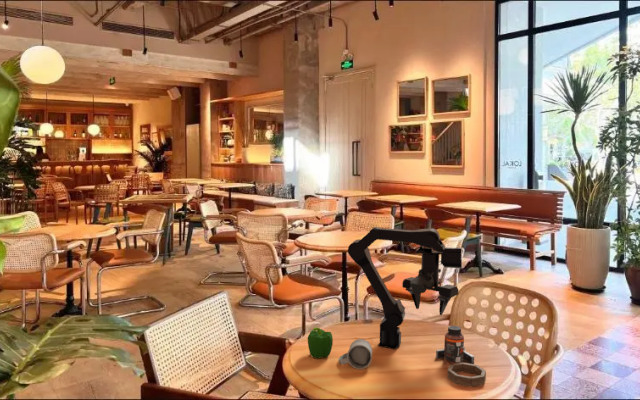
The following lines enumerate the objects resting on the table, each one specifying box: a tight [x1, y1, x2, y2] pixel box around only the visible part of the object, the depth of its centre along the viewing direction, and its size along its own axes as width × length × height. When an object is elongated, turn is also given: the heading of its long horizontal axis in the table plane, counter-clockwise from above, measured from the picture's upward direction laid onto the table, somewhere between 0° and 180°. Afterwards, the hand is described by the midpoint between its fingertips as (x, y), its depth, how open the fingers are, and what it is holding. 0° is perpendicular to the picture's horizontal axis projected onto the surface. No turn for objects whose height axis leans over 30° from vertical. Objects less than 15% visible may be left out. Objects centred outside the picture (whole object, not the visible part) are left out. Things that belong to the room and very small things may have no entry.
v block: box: [435, 346, 475, 365], centre depth 168 cm, size 8×12×2 cm, turn 65°
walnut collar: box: [446, 361, 487, 388], centre depth 153 cm, size 10×10×2 cm
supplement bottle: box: [443, 325, 465, 365], centre depth 164 cm, size 6×6×11 cm
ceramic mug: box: [337, 338, 373, 370], centre depth 163 cm, size 11×8×8 cm
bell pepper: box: [307, 326, 334, 359], centre depth 169 cm, size 8×8×10 cm
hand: (429, 311), depth 174 cm, fingers open, 9 cm apart
